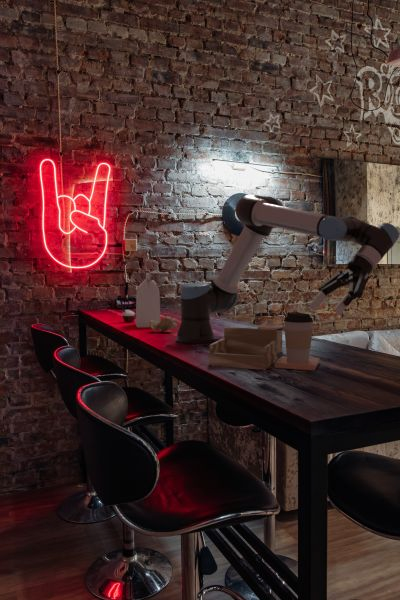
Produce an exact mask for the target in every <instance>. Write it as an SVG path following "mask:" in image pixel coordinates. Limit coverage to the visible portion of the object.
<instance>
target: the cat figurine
mask: <svg viewBox="0 0 400 600" xmlns="http://www.w3.org/2000/svg"><path fill="white" fill-rule="evenodd" d="M177 320H178V319H177V318H172V317H170V316H165V317H163V318H162V319H161V322H159V323H158V322H156V321H154V320H152V319H150V326H151V327H150V328H151V329H152V330H153V332H154V333H157V331H159V330H160V331H161V332H162V333H163V332H168V331H169V330H171V329H172V328H177V327H178V324H177Z"/></svg>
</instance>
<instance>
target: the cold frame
mask: <svg viewBox="0 0 400 600" xmlns="http://www.w3.org/2000/svg"><path fill="white" fill-rule="evenodd" d="M223 329H224V330H223V337H222V338H220V339H218V340H217V341H215V342H214V341H213V343H211V344H209V352H208V366H209V365H214V366H213V367H218V366H222V368H235V369H249V370H250V369H251V370H264V371H266V370H267V369H268V368H270V366H271V365H272V364H273V363H275V362H276V361H277V360H278V353H277V329H259V328H258V327H257V328H255V327H254V328H253V327H237V326H236V327H231V326H224V327H223Z"/></svg>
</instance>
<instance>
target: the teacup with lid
mask: <svg viewBox="0 0 400 600" xmlns="http://www.w3.org/2000/svg"><path fill="white" fill-rule="evenodd" d="M283 327H284V326H282V325H279V324H278V323H277V322H274V319H273V318H271V319H270V318H269V319H267V321H266V322H264V323H262V324H259V325H258V326H257V328H259V329H277V354H280V353H282V352H283V330H284V328H283Z"/></svg>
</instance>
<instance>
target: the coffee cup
mask: <svg viewBox="0 0 400 600" xmlns="http://www.w3.org/2000/svg"><path fill="white" fill-rule="evenodd" d="M283 321H284V340H285V341H284V342H285V351H286V353H285V354H286V356H287V361H289V362H295V363H304V362H308V361H309V358H310V352H311V351H310V350H311V346H312V335H313V323H314V320H313V317H311V315H310V313H306V312H305V313H304V312H293V313H292V312H287V313H286V316H285V317H284V319H283Z"/></svg>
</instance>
